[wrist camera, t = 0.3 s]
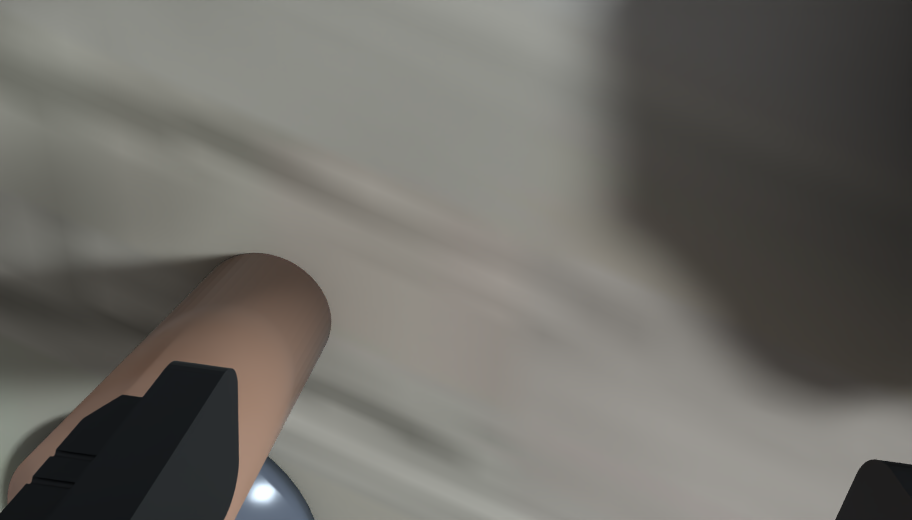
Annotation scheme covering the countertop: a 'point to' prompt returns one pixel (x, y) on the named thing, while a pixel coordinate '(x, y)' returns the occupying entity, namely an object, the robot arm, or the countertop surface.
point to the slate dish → (274, 497)
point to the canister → (225, 355)
